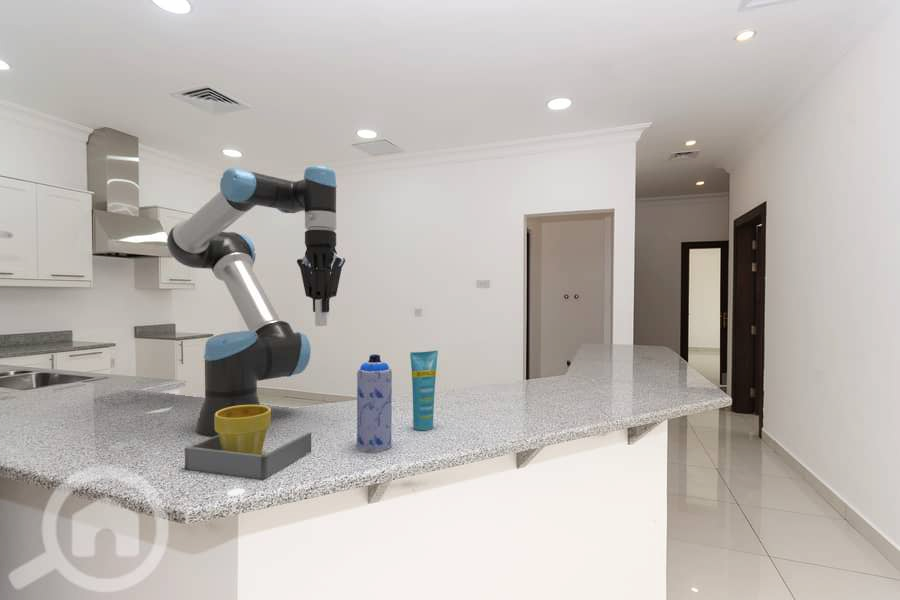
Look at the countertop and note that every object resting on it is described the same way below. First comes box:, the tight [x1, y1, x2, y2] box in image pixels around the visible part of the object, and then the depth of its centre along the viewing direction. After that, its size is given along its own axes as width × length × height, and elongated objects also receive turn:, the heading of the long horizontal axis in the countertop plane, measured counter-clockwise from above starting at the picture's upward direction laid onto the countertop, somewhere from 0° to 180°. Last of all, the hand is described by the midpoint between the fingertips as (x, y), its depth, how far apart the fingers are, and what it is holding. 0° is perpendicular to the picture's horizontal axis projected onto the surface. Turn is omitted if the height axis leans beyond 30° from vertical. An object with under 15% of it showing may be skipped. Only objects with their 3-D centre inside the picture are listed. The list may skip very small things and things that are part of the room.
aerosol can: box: [355, 354, 393, 453], centre depth 100 cm, size 8×8×20 cm
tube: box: [409, 350, 439, 431], centre depth 114 cm, size 7×5×19 cm, turn 123°
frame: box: [184, 432, 312, 481], centre depth 91 cm, size 18×15×4 cm
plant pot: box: [214, 404, 272, 455], centre depth 92 cm, size 10×10×10 cm
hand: (321, 325), depth 113 cm, fingers closed
